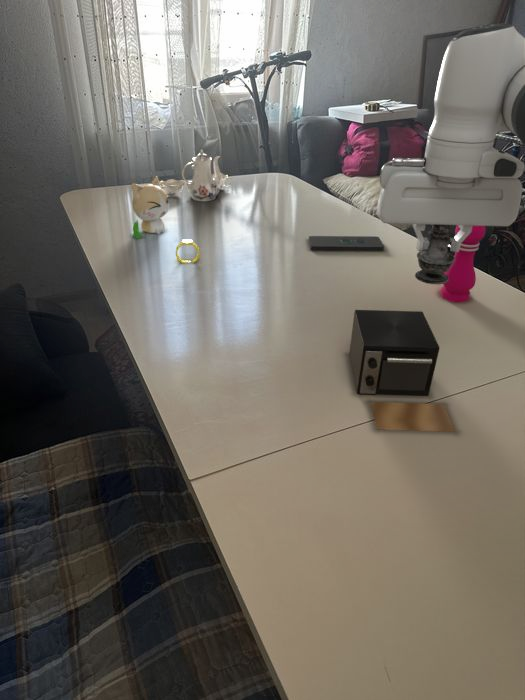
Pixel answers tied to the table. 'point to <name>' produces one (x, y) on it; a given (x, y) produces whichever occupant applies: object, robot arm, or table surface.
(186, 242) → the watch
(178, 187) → the chinaware
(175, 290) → the table surface
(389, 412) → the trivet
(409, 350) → the oven
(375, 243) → the smart home device
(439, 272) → the gray stone statue
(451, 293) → the pepper mill
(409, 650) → the table surface
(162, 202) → the kitten
